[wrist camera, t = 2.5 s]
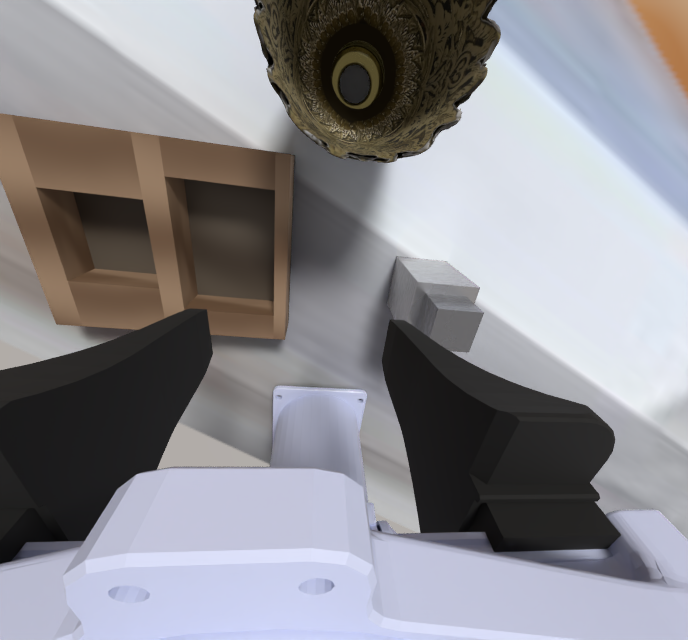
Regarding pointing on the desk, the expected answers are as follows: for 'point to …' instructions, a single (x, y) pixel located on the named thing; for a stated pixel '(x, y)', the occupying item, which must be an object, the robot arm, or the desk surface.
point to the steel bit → (435, 301)
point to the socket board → (151, 226)
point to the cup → (376, 68)
